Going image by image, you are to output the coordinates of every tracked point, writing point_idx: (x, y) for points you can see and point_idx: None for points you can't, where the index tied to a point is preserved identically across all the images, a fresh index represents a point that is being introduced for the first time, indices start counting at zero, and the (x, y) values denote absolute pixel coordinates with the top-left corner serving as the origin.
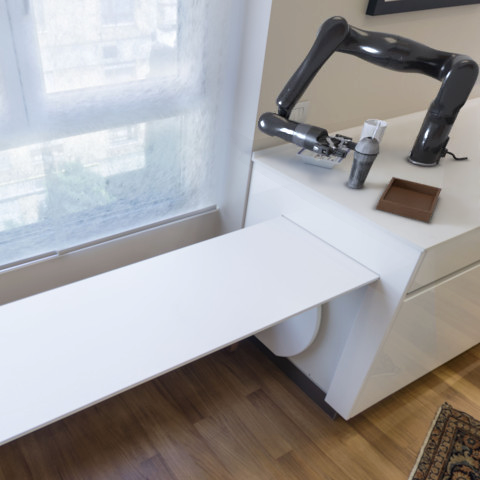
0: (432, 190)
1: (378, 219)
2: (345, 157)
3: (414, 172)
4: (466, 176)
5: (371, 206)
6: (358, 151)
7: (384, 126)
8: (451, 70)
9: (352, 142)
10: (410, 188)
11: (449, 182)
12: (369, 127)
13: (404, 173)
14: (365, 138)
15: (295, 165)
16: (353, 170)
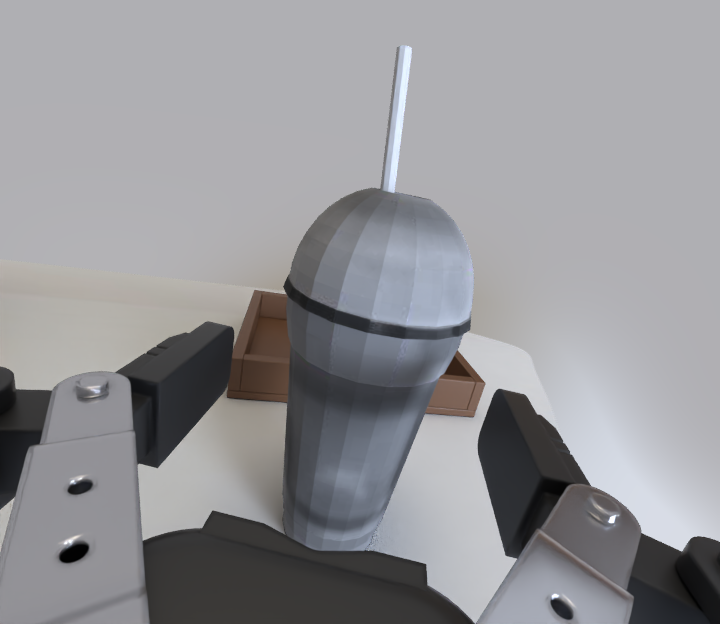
0: (259, 307)
1: None
2: (482, 437)
3: (8, 340)
4: (36, 270)
5: (471, 429)
6: (469, 316)
7: None
8: None
9: (174, 366)
10: (251, 343)
11: (106, 294)
12: None
13: (29, 362)
14: (431, 208)
15: None
16: (408, 451)
